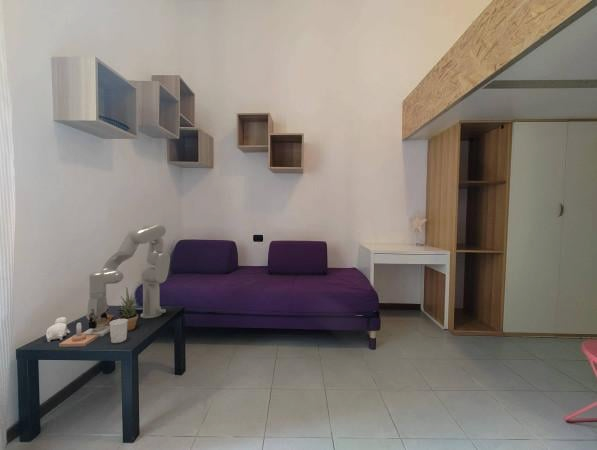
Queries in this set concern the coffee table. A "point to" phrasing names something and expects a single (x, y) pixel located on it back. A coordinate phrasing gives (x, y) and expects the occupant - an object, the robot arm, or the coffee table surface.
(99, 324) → the birch ring
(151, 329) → the coffee table surface
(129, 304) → the potted plant
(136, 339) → the coffee table surface
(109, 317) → the sunglasses case
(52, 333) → the white figurine
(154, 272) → the robot arm
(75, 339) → the hub post
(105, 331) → the stand
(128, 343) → the coffee table surface
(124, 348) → the coffee table surface
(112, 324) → the white cup
